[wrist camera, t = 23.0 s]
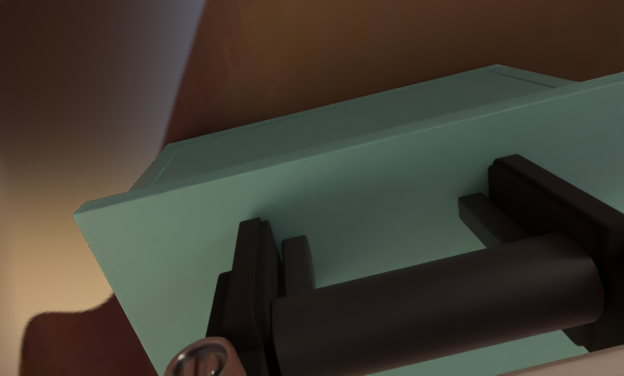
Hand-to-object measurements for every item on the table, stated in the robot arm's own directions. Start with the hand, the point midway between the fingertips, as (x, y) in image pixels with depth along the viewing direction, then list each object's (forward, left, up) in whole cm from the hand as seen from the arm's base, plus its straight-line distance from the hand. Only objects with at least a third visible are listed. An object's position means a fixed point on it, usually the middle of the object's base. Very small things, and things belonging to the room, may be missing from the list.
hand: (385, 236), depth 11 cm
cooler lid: (+7, 0, -1) cm, 7 cm away
